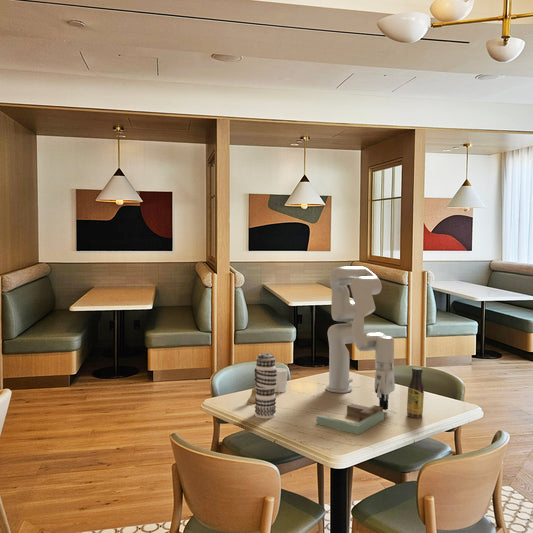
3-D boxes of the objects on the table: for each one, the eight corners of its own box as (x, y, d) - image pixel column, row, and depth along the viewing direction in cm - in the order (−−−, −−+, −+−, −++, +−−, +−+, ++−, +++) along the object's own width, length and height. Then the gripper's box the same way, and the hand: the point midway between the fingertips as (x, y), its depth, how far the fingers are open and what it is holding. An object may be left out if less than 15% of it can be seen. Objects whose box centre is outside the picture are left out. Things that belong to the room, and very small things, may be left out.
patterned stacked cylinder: (253, 418, 210) (254, 356, 208) (254, 411, 219) (254, 351, 218) (276, 418, 210) (277, 356, 209) (276, 411, 219) (276, 352, 218)
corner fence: (344, 410, 221) (344, 403, 221) (383, 419, 210) (384, 412, 210) (316, 423, 204) (316, 416, 204) (358, 434, 193) (358, 426, 193)
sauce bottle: (403, 415, 215) (404, 367, 214) (413, 412, 219) (414, 365, 218) (417, 419, 210) (418, 370, 209) (426, 416, 214) (427, 368, 213)
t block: (356, 410, 221) (356, 401, 221) (382, 416, 213) (382, 407, 213) (341, 417, 212) (341, 408, 211) (368, 424, 204) (368, 414, 204)
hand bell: (263, 397, 239) (263, 362, 238) (268, 402, 231) (268, 366, 230) (245, 398, 237) (245, 363, 236) (250, 404, 229) (250, 367, 228)
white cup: (287, 393, 246) (287, 372, 245) (270, 393, 246) (270, 371, 246) (287, 388, 254) (287, 368, 253) (270, 388, 254) (271, 367, 253)
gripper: (384, 370, 211) (384, 415, 211) (400, 363, 222) (399, 406, 223) (367, 367, 215) (367, 411, 216) (384, 361, 227) (383, 403, 228)
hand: (383, 408), depth 220 cm, fingers closed
